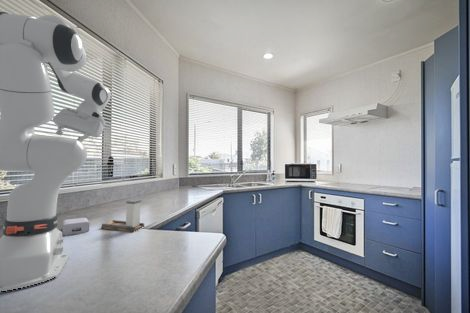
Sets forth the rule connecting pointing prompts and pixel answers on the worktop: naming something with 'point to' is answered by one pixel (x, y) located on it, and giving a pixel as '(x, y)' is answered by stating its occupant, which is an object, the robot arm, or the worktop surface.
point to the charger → (75, 226)
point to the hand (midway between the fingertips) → (68, 137)
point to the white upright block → (133, 213)
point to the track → (121, 226)
